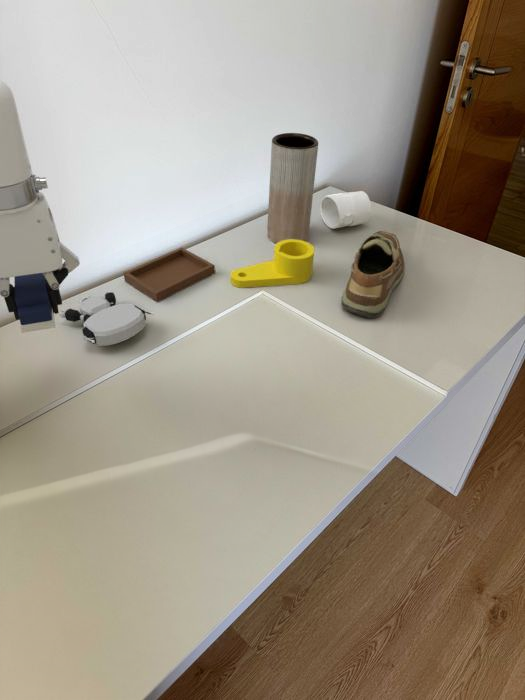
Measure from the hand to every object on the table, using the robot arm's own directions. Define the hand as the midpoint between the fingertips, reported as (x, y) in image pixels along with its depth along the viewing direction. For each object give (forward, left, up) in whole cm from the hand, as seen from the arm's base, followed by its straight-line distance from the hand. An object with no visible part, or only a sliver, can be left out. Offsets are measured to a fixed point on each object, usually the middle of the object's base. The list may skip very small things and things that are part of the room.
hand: (37, 310), depth 77 cm
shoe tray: (+10, +34, -14) cm, 38 cm away
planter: (+33, +57, -14) cm, 68 cm away
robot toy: (+3, +15, -14) cm, 21 cm away
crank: (+31, +38, -14) cm, 51 cm away
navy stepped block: (0, 0, 0) cm, 0 cm away
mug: (+46, +67, -14) cm, 83 cm away
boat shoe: (+53, +39, -14) cm, 67 cm away
